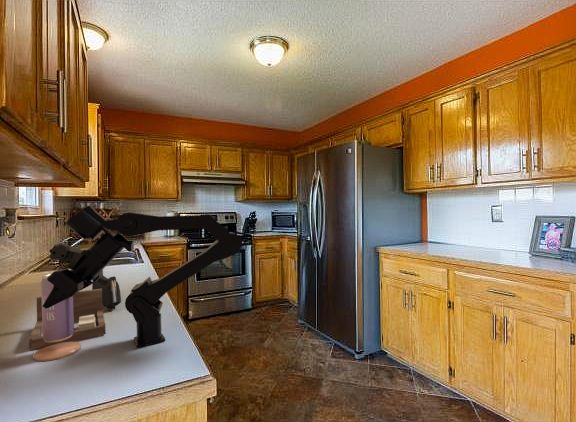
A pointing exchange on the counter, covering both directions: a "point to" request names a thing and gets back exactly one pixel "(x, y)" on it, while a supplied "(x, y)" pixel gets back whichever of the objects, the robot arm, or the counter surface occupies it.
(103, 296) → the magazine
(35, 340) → the walnut rack
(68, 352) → the peach round disc
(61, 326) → the beverage can
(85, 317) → the offcut stack
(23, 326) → the counter surface
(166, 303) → the counter surface
